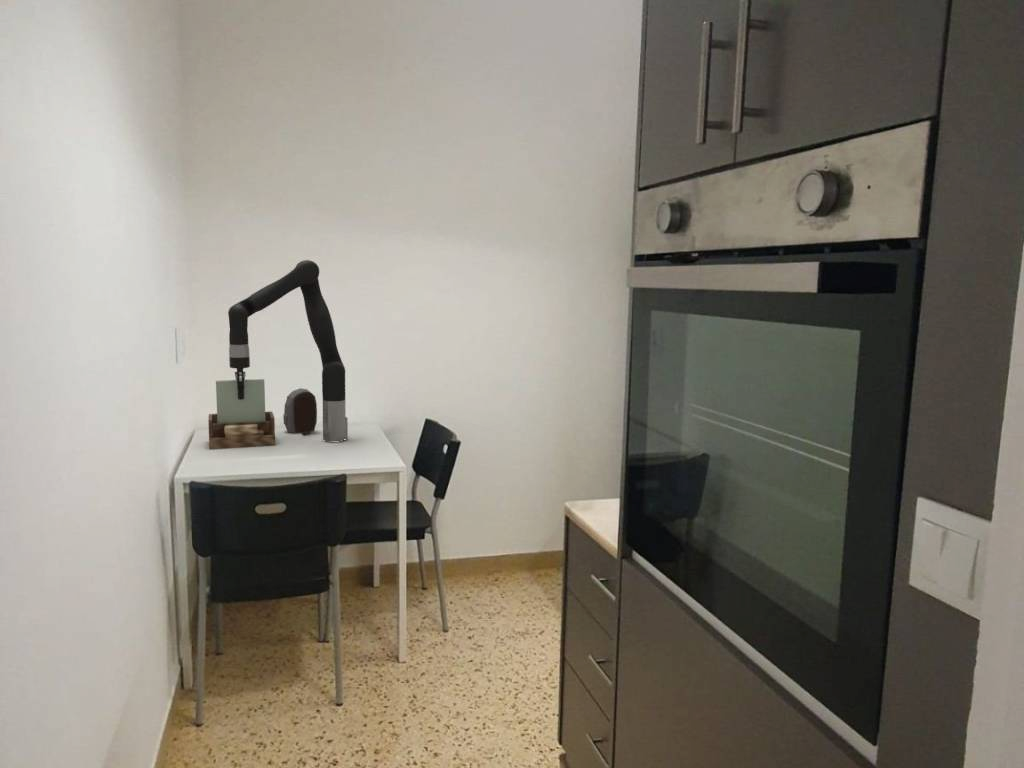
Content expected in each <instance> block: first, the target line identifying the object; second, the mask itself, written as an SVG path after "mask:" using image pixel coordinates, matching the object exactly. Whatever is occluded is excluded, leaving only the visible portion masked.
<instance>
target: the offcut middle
mask: <svg viewBox="0 0 1024 768" xmlns="http://www.w3.org/2000/svg"><path fill="white" fill-rule="evenodd" d="M263 435H264V432H263V430H258V432H257V433H246V434H225V438H226V437H245V436H263Z"/></svg>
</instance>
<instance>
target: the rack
mask: <svg viewBox="0 0 1024 768" xmlns="http://www.w3.org/2000/svg"><path fill="white" fill-rule="evenodd" d="M265 419H266V421H261V422H239V423H217V413H208V419H207V420H208V421H207V422H208V445H209V447H208V448H209V450H221V449H222V450H223V449H225V450H226V449H239V448H242V449H243V448H256V447H257V448H258V447H273V446H275V447H276V428H275V427H276V426H275V425H276V424H275V416H274V412H273V411H270V410H269V411H265ZM248 424H257V429H258V430H263V432H264V435H263V436H245V437H226V438H225V430H224V428H225V425H248Z"/></svg>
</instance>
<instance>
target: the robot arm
mask: <svg viewBox="0 0 1024 768" xmlns="http://www.w3.org/2000/svg"><path fill="white" fill-rule="evenodd" d="M319 276H320V268H319V266H318V264H317V263H316V262H315V261H313V260H309V259H305V260H301V261H299V262H298V263H297V264H296V266H295V267H294V268H293V269H292V270H290V271H289V272H288V273H287V274H285V275H284V276H282V277H281V278H279V279H277V280H276V281H273V282H272V283H270V284H268V285H266V286H264V287H262V288H261V289H258V290H257V291H255V292H253V293H252V294H251V295H249V296H248V297H246V298H245V299H243V300H240V301H239V302H236V303H235V304H233V305H232V306H231V307H229V309H228V311H227V313H228V315H227V316H228V323H229V332H228V333H229V334H228V336H229V339H228V340H229V342H228V343H229V347H228V357H229V359H228V361H229V368H230V369H236V371H235V372H234V377H235V380H236V384H237V389H238V399H239V400H242V399H244V388H245V387H244V384H245V380H246V371H244V369H248V368H250V367H251V361H250V360H251V359H250V358H251V357H250V356H251V355H250V347H249V332H248V326H249V325H248V324H249V323H248V321H249V317H251V316H252V315H255V314H256V313H257V312H260V311H263V310H264V309H266V308H267V307H269V306H271V305H272V304H274V303H276V302H277V301H279V300H280V299H282V298H283V297H284V296H286V295H288V294H289V293H291V292H292V291H294V290H296V289H297V288H299V289H300V290H301V293H302V296H303V302H304V307H305V308H304V309H305V313H306V317H307V323H308V325H309V330H310V333H311V335H312V337H313V340H314V343H315V344H316V347H317V348H318V350H319V355H320V360H321V364H322V366H321V367H322V371H321V384H322V385H321V387H322V389H321V393H322V441H323V440H325V441H324V442H326V441H341V440H344V439H348V432H349V431H348V429H349V428H348V421H349V419H348V417H347V416H346V413H347V412H346V367H345V365H344V363H343V361H342V358H341V356H340V352H339V349H338V346H337V340H336V334H335V329H334V324H333V323H334V322H333V320H332V317H331V313H330V310H329V308H328V306H327V303H326V300H325V299H324V296H323V293H322V291H321V286H320V281H319ZM239 385H243V386H239ZM341 442H342V441H341Z"/></svg>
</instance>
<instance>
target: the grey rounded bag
mask: <svg viewBox="0 0 1024 768" xmlns="http://www.w3.org/2000/svg"><path fill="white" fill-rule="evenodd" d="M317 407H318V405H317V399H316V395H314V394H313V393H312V392H311V391H310V390H309V389H308V388H302V387H301V388H298V389H295V390H293V391H291V392H290V393H289V394H288V395H287V396H286V400H285V403H284V411H283V415H282V417H283V418H282V419H283V425H284V427H285V429H286V431H287V432H288V433H290V434H301V435H306V434H310V433H314V432H315V430H316V425H317V422H318V408H317Z"/></svg>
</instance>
